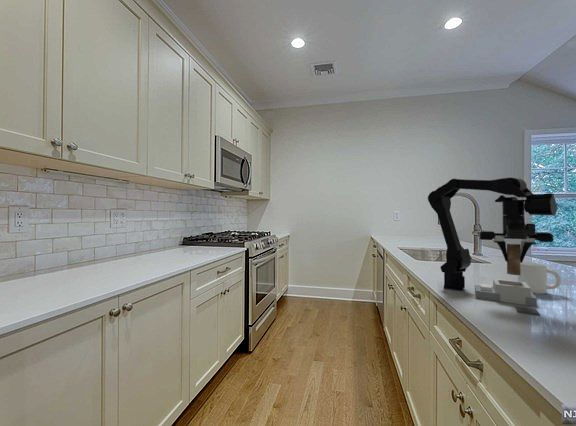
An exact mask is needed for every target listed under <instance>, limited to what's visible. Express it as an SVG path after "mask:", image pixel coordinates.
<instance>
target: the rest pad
mask: <svg viewBox="0 0 576 426" xmlns="http://www.w3.org/2000/svg"><path fill="white" fill-rule="evenodd" d="M514 308H515V310H516V312H517V313H520V314H527V315H533V316H534V315H535V316H539V317H540V316H541V313H540V312H539V311H538V309H536V308H532V307H523V306H518V305H517V306H516V305H515V306H514Z"/></svg>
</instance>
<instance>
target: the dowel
mask: <svg viewBox="0 0 576 426" xmlns="http://www.w3.org/2000/svg"><path fill="white" fill-rule="evenodd" d="M520 249H521V243H506V251H507V262H506V274H508V275H511V276H512V275H514V276H518V275H521V269H520Z"/></svg>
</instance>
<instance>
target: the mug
mask: <svg viewBox="0 0 576 426" xmlns="http://www.w3.org/2000/svg"><path fill="white" fill-rule="evenodd" d="M520 269H521V275H517V281H519V282H526V283H527V285H528V286H529V287H530V288H531V292H532V293H533V294H534V295H536V294H538V295H544V294H546V293H547V292H548V291H547V290H553V289H557V288H558V287H559V286H560V285H561V282H562V278H561V276H560V274H559V273H558V272H557V271H556V270H554V269H551V268H548V266H547V264H545V263H539V262H532V261H531V262H530V261H523V262H522V263H521V262H520ZM548 274H551V275H553V276H554V278H555V283H553V284H551V285H549V284H548Z"/></svg>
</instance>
